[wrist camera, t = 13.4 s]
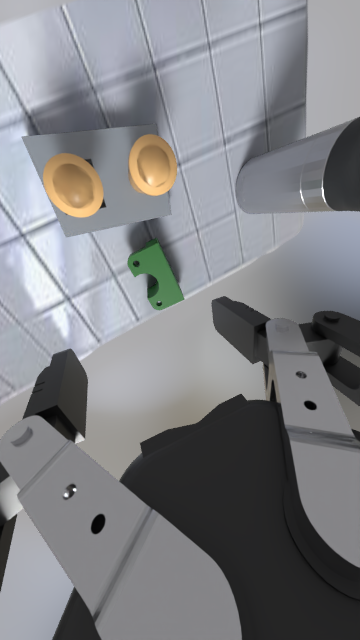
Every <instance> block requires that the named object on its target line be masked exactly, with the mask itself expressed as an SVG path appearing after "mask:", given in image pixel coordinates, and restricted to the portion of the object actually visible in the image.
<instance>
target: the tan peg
mask: <svg viewBox="0 0 360 640" xmlns="http://www.w3.org/2000/svg"><path fill="white" fill-rule="evenodd" d="M43 182H44V187H45V190H46V192H47V194H48V196H49V198H50V199H51V201H52V202H53V203H54V204H55V205H56V206H57V207H58V208H59V209H60V210H62V211H63V212H65V213H66V214H68V215H71V216H74V217H89V216H91V215H93V214H95V213H96V212H97V211H98V210H99V208H100V206H101V204H102V201H103V186H102V182H101V180H100V177H99V175H98V174H97V172H96V171H95V169H94V168H93V167H92V166H91V165H90V164H89V163H88V162H87V161H85V160H84V159H83V158H81V157H79V156H76V155H74V154H69V153H61V154H57V155H55V156H53V157H52V158H51V159H49V161H48V162H47V163H46V165H45V168H44V172H43Z"/></svg>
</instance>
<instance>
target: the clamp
mask: <svg viewBox="0 0 360 640" xmlns="http://www.w3.org/2000/svg"><path fill="white" fill-rule="evenodd" d="M134 261H139V262H140V264H138V265H136V264H134ZM128 267H129V268H130V270H131V272H132V273H133V275H134V277H136V276H137V275H139V274H143V273H147V274H151V275H153V276H154V277H155V278H156V279H157V282H156V284H155V285H154V286H152V287H150V288H147V292H148V300H149V302H150V303H151V305H152V307H153V308H154V309H156V310H162V309H165V308H167V307H169V306H171V305H173V304H176V303H178V302H180V301H182V300H184V297H183V294H182V291H181V289H180V286H179V284H178V282H177V280H176V277H175V275H174V273H173V271H172V269H171V267H170V265H169V262H168V260H167V258H166V256H165V254H164V252H163V250H162V247H161V245H160V243H159V241H158V239H157V238H155V239H153V240H151V241H149V242H147V243H146V247H144V248H142V249H140V250H138V251H136V252H134V253H132V254H131V255H130V256H129V258H128ZM158 301H161V302H160V303H157V302H158Z"/></svg>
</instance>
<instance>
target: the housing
mask: <svg viewBox="0 0 360 640" xmlns="http://www.w3.org/2000/svg"><path fill="white" fill-rule="evenodd" d="M22 139H23V141H24V144H25V146H26V148H27V150H28V153H29V155H30V157H31V159H32V162H33V164H34V166H35V168H36V171H37V173H38V175H39V177H40V180H41V182H42V184H43V186H44V182H43V172H44V168H45V165H46V163H47V162H48V161H49V159H51V158H52V157H53V156H55V155H57V154H61V153H69V154H74V155H76V156H79V157H81V158H83V159H84V160H85V161H87V162H88V163H89V164H90V165H91V166H92V167H93V168H94V169H95V171H96V172H97V174H98V175H99V177H100V180H101V182H102V186H103V201H102V204H101V206H100V208H99V210H98V211H97V212H96V213H95V214H93V215H91V216H89V217H74V216H71V215H68V214H66V213H65V212H63V211H62V210H60V209H59V208H58V207H57V206H56V205H55V204H54V203H53V202H52V201H51V199H50V198H49V196H48V198H49V200H50V202H51V204H52V207H53V209H54V211H55V213H56V216H57V218H58V220H59V222H60V225H61V227H62V229H63V231H64V234H65V236H66V237H71V236H75V235H80V234H85V233H89V232H94V231H98V230H103V229H108V228H112V227H117V226H122V225H126V224H131V223H136V222H140V221H145V220H150V219H154V218H159V217H164V216H168V215H172V213H171V207H170V202H169V196H168V190H169V189H170V188H171V187H172V186H173V184H174V182H175V179H176V175H177V163H176V158H175V155H174V153H173V150H172V149H171V147H170V146H169V144H168V143H167V142H166V141H165V140H164V139H162V138H161V137H159V136H158V131H157V125H156V124H148V125H138V126H128V127H117V128H107V129H97V130H86V131H76V132H66V133H55V134H45V135H34V136H24V137H22ZM44 189H45V187H44ZM45 191H46V190H45ZM46 193H47V192H46ZM47 195H48V194H47Z"/></svg>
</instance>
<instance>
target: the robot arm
mask: <svg viewBox="0 0 360 640" xmlns="http://www.w3.org/2000/svg"><path fill="white" fill-rule="evenodd" d="M236 197H237V201H238V203H239V206H240V207H241V208H242V210H244V211H245V212H247V213H249V214H261V213H296V212H319V211H320V212H323V211H360V117H358V118H355V119H353V120H351V121H348V122H345V123H343V124H340V125H337V126H335V127H332V128H330V129H328V130H325V131H322V132H320V133H317V134H314V135H312V136H310V137H307V138H304V139H301V140H299V141H296V142H294V143H291V144H288V145H286V146H283V147H281V148H278V149H275V150H273V151H270V152H267V153H265V154H262V155H260V156H257V157H254V158H252V159H250V160H249V161H248V162H247V163H246V164H245V165H244V166H243V167H242V169H241V171H240V173H239V176H238V179H237V183H236ZM212 312H213V323H214V326H215V329H216V330H217V331H218V332H219V333H220V334H221V335H222V336H223V337H224V338H225V339H226V340H227V341H228V342H229V343H230V344H231V345H233V346H234V347H235V348H236V349H237V350H238V351H239V352H240V353H241V354H242V355H243V356H244V357H246V358H247V359H248V360H249V361H250V362H251V363H252V364H254V363H257V362H259V361H262V362H263V374H264V384H265V395H266V400H248V401H247V400H246V399H245V398H244V396H243V395H242V394H239V395H237V396H235V397H233V398H231V399H229V400H227V401H225V402H223V403H221V404H219V405H218V406H217V407H216V408H215V409H213V410H212V411H211V412H210V413H209V414H207V415H206V416H205V417H204V418H203V419H202V420H201V421H199V422H198V423H196V424H192V425H187V426H182V427H178V428H173V429H168V430H166V431H164V432H162V433H160V434H157V435H155V436H154V437H151V438H149V439H147V440H145V441H143V442H142V443H140V445H141V450H142V453H141V454H140V455H139V456H138V457H137V458H136V459H135V460H134V461H133V462H132V463H131V464H130V466H129V467H128V468H127V469H126V471H125V473H124V474H123V475H122V477H121V479H120V481H118V480H117V479H116V478H114V477H113V476H112V475H111V474H110V473H109V472H108V471H106V470H105V469H104V468H103V467H102V466H101V465H99V464H98V463H97V462H96V461H95V460H94V459H92V458H91V457H90V456H89V455H88V454H86V453H85V452H84V451H83V450H82V449H81V448H79V447H78V446H77V445H76V443H79V442H81V441H83V440H85V428H86V408H87V387H88V379H87V375H86V372H85V370H84V368H83V367H82V365H81V363H80V362H79V360H78V358H77V357H76V355H75V353H74V352H73V350H72V349H67V350H64V351H62V352H59V353H56V354H54V355H53V357H52V360H51V363H50V366H49V367H46V368H45V369H44V370H43V371H42V372H41V373H40V375H39V376H38V378H37V380H36V383H35V387H34V389H33V392H32V395H31V397H30V400H29V402H28V405H27V408H26V411H25V413H24V416H23V419H22V420H21V421H19V422H18V423H16V424H15V425H13V426H12V427H11V428H10V429H9V430H8V431H7V432H6V433H5V434H4V435H3V436H2V438H1V439H0V591H1V586H2V582H3V577H4V573H5V568H6V563H7V559H8V554H9V550H10V545H11V540H12V535H13V531H14V526H15V522H16V517H17V513H18V512H19V511H20V510H22V509H23V508H24V509H25V511H26V512H27V514H28V516H29V517H30V519H31V520H32V522H33V523H34V525H35V526H36V528H37V529H38V531H39V533H40V534H41V535H42V537H43V539H44V540H45V542H46V543H47V545H48V546H49V548H50V549H51V551H52V552H53V554H54V555H55V557H56V559H57V560H58V562H59V563H60V565H61V566H62V568H63V569H64V571H65V572H66V574H67V576H68V577H69V579H70V580H71V582H72V583H73V585H74V589H73V591H72V593H71V596H70V598H69V601H68V603H67V605H66V608H65V610H64V613H63V615H62V617H61V620H60V622H59V625H58V627H57V629H56V632H55V634H54V637H53V639H52V640H360V432H359V431H356V430H353V429H351V428H350V426H349V423H348V421H347V418H346V416H345V414H344V412H343V409H342V407H341V405H340V403H339V400H338V398H337V396H336V393H335V391H334V389H333V387H332V386H334V387H335V388H336V389H338V390H339V391H340V392H341V393H343V394H344V395H345V396H347V397H348V398H349V399H351V400H352V401H353V402H355V403H356V404H357V405H358V406H360V368H359V367H357V366H355V365H354V364H352V363H351V362H349V361H347V360H346V359H344V358H342V357H341V356H340V354H341V351H342V348H343V347H344V348H345V349H347V350H349V351H350V352H352V353H354V354H356V355H358V356H359V357H360V321H359V320H356V319H354V318H351V317H349V316H347V315H344V314H341V313H339V312H334V311H321V312H317V313H315V314H314V316H313V320H312V322H311V323H305V324H297V323H296V322H294V321H292V320H289V319H285V318H275V319H270V318H268V317H266V316H265V315H263V314H261V313H259V312H258V311H256V310H254V309H253V308H251V307H250V308H249V306H247V305H245V304H244V303H241V302H237V301H232V300H231V299H229V298H227V297H225V296H223V297H220V298H217V299H214V300H212Z"/></svg>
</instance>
